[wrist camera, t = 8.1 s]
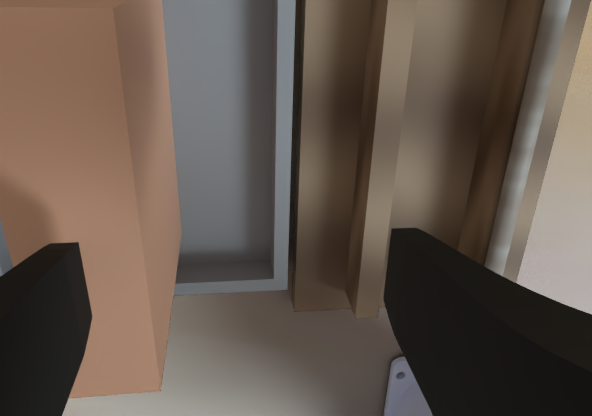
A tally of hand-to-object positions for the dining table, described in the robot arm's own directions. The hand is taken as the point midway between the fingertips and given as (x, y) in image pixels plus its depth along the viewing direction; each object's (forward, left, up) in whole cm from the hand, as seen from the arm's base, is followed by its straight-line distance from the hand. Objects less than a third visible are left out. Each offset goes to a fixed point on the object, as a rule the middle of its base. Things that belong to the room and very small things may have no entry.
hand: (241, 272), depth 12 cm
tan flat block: (+1, +4, -10) cm, 11 cm away
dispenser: (+1, -8, -10) cm, 13 cm away
